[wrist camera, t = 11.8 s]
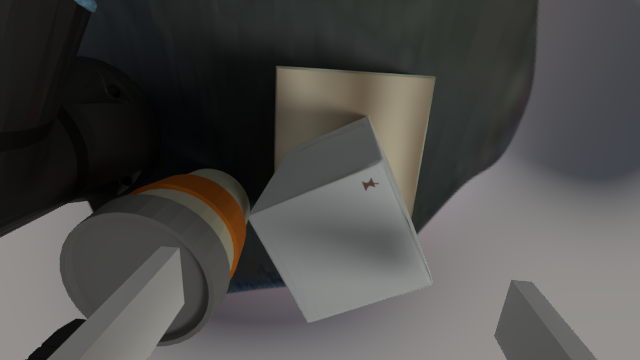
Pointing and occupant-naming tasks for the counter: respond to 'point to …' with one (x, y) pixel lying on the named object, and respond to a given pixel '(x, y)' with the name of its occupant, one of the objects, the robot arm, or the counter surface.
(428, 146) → the counter surface
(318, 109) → the maple box
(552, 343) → the robot arm
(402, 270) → the supplement box
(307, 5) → the counter surface
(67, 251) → the reusable coffee cup
